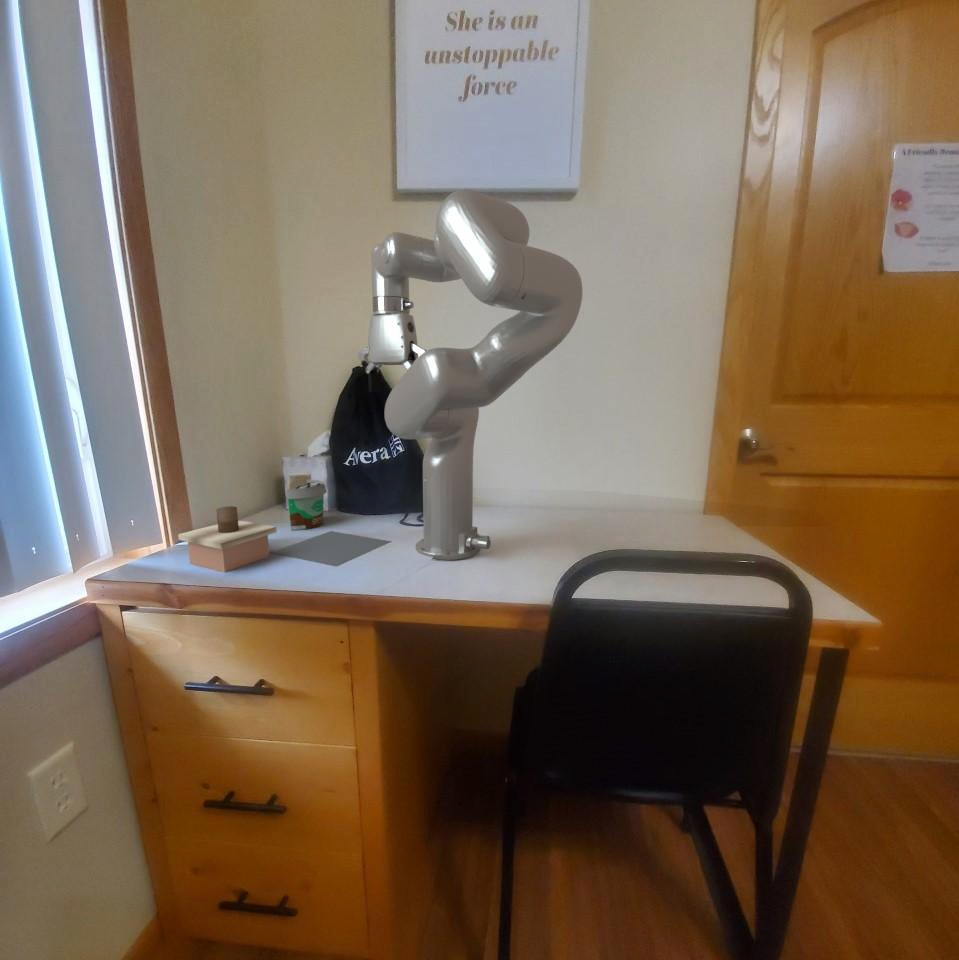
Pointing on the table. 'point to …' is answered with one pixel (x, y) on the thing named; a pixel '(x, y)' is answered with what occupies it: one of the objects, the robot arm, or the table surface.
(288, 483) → the box
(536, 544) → the table surface
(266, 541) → the open square bin
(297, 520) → the food container
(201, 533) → the lid
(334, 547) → the mat
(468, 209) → the robot arm
